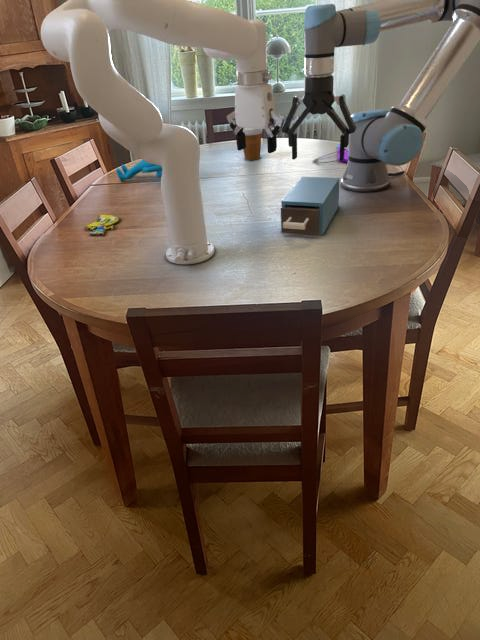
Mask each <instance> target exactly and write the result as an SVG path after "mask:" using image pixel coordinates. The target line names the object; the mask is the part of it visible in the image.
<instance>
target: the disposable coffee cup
mask: <svg viewBox="0 0 480 640" xmlns="http://www.w3.org/2000/svg"><path fill="white" fill-rule="evenodd" d="M243 132H245V139H246V148H244V149H242V151H243V155H244V159H245V160H248V161H252V160H258V159H260V158H261V147H262V146H261V145H262V133H263V129H251V128H245V129H244V131H243Z"/></svg>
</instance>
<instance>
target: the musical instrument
mask: <svg viewBox="0 0 480 640" xmlns="http://www.w3.org/2000/svg"><path fill="white" fill-rule="evenodd" d="M336 147H337V148H336V149H337V151H334V152H331V153H328V154H324V155H322V156H320V157H319V156H318V157H317V158H315V159H314V160H313V162H314V163H317V164H318V163H319V164H327V163H333V162H334V163H335V162H344V163H348V154H349V149H347V148H345V149H344V159H343V160H342V161H340V143H339V144H337V146H336ZM336 153H337V159H336V160H330V161H318V159H321V158H324V157H326V156H330V155H333V154H336Z"/></svg>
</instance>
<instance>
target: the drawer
mask: <svg viewBox="0 0 480 640" xmlns="http://www.w3.org/2000/svg"><path fill="white" fill-rule="evenodd" d="M280 226H281V227H280V229H281V230H280V231H281V233H282V234H296V235H309V236H320V235H319V207H316V206H298V205H288V206H287V207H282V206H281V207H280Z"/></svg>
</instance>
